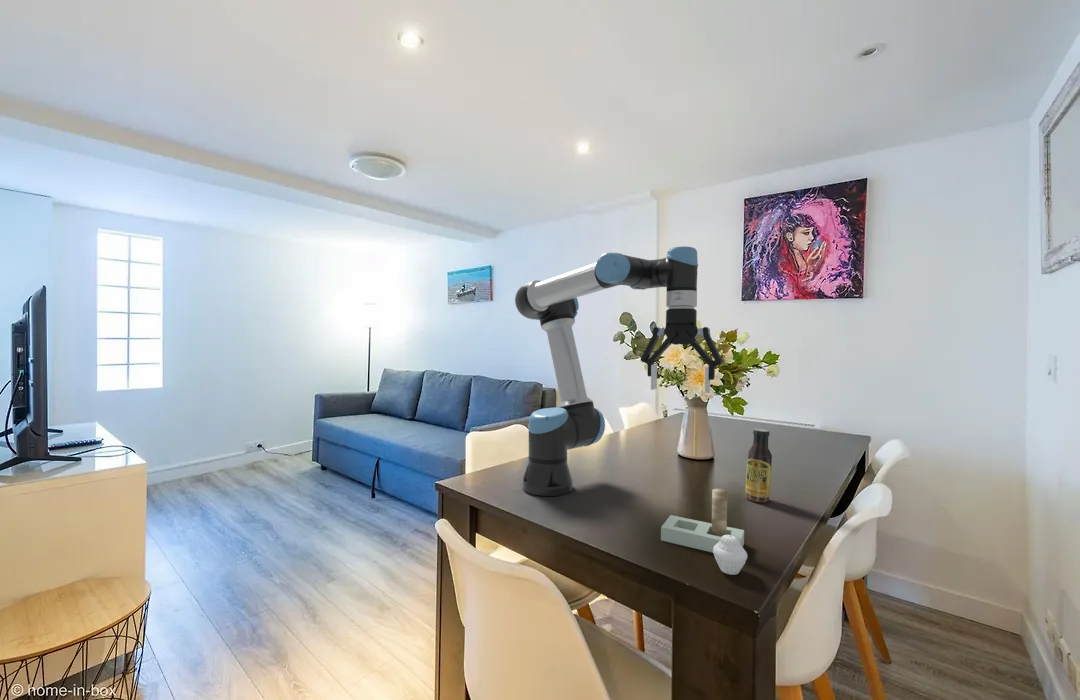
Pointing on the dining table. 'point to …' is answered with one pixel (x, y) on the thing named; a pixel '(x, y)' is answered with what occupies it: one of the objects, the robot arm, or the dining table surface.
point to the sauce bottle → (759, 468)
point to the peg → (719, 512)
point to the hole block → (694, 533)
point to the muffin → (729, 554)
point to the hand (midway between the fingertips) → (679, 391)
